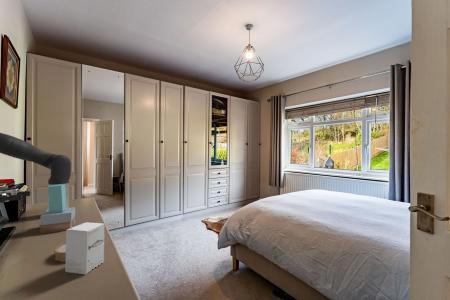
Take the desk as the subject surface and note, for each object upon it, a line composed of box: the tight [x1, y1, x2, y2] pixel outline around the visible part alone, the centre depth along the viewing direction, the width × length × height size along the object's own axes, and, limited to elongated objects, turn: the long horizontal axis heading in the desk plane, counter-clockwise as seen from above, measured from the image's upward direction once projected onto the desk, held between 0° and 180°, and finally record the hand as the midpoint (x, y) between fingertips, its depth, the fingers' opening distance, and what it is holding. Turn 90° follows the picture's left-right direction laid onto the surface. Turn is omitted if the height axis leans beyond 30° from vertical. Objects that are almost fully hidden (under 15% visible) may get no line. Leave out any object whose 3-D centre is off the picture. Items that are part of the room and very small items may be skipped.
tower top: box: [39, 206, 76, 226], centre depth 102 cm, size 11×11×4 cm
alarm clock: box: [54, 237, 106, 263], centre depth 77 cm, size 11×5×15 cm
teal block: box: [47, 184, 66, 213], centre depth 101 cm, size 5×5×12 cm
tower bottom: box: [39, 214, 77, 234], centre depth 102 cm, size 11×11×4 cm
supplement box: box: [64, 221, 105, 275], centre depth 67 cm, size 7×7×13 cm
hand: (26, 195), depth 96 cm, fingers open, 8 cm apart
